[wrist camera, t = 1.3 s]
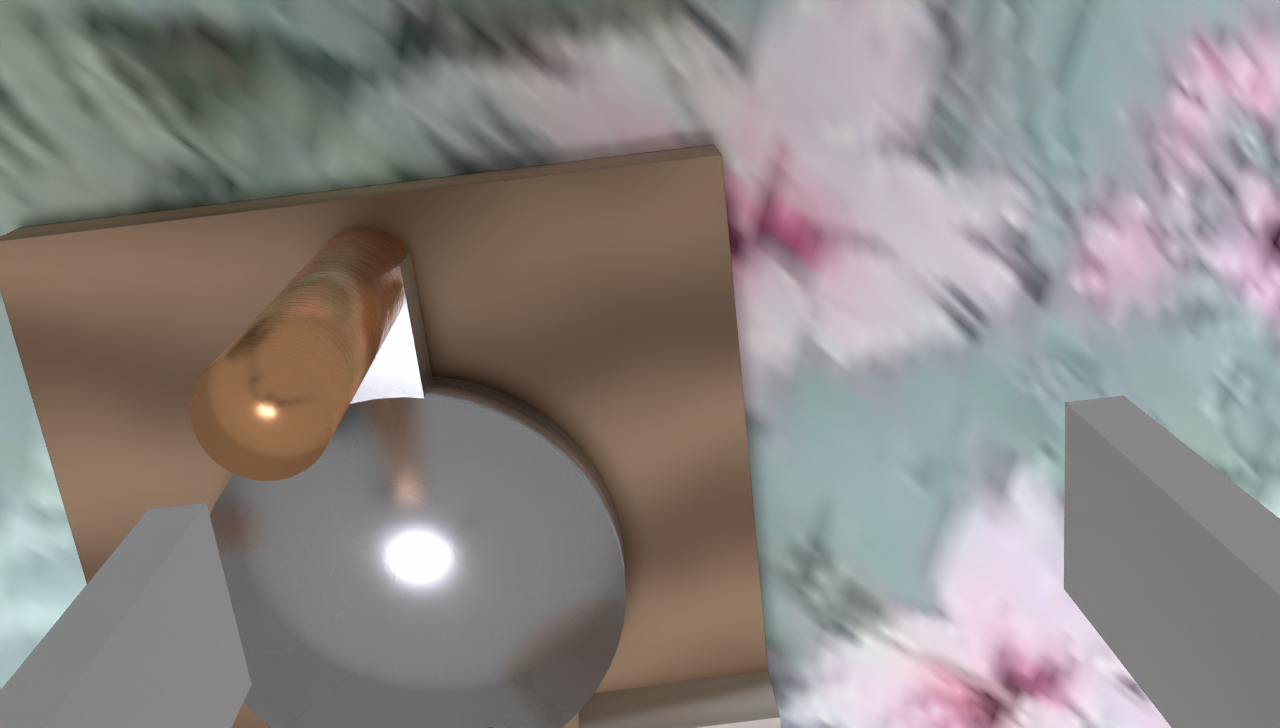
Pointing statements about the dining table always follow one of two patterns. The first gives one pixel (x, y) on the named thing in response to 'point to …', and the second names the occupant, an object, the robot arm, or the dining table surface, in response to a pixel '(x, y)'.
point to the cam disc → (399, 518)
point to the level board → (449, 375)
